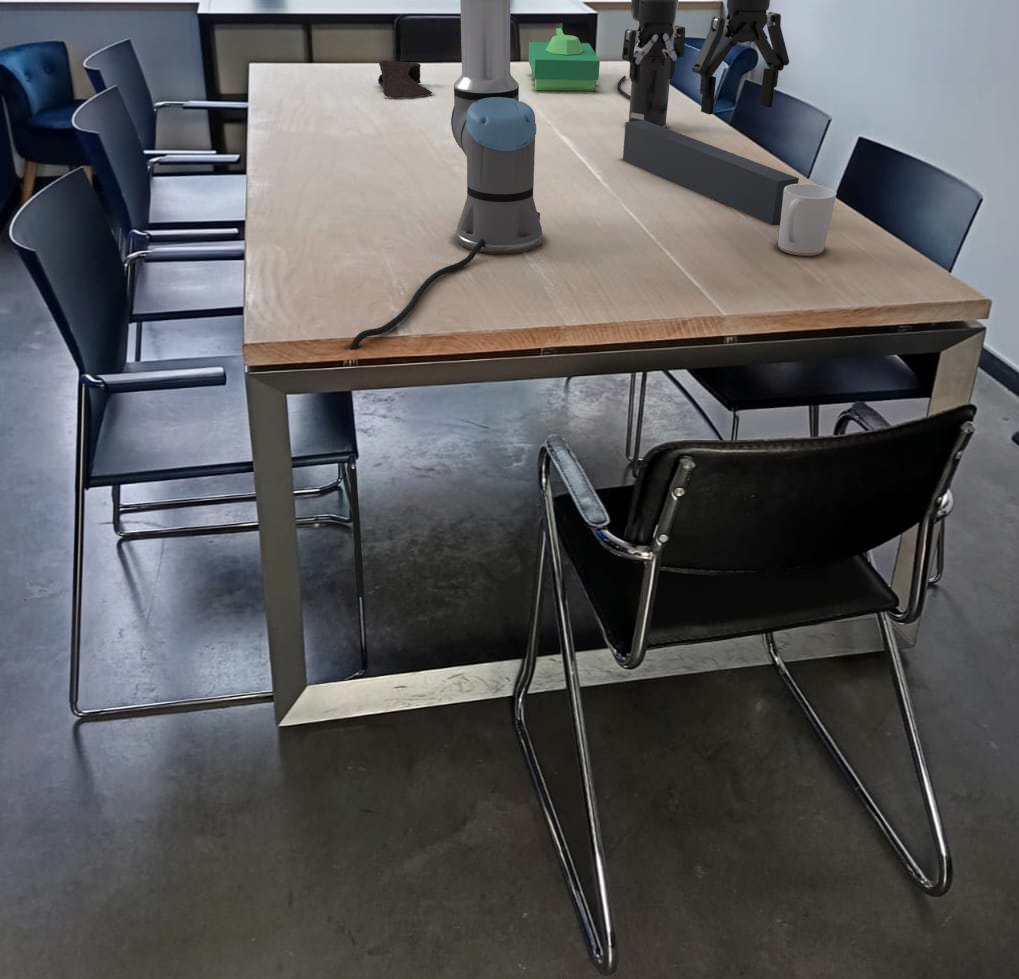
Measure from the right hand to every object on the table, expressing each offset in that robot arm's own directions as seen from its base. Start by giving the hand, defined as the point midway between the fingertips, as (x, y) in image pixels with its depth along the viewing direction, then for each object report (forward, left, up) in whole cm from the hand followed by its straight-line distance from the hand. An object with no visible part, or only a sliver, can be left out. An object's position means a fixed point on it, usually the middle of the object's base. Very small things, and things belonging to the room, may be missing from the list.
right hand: (651, 80), depth 232 cm
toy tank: (-86, -26, -18) cm, 92 cm away
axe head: (-62, -67, -18) cm, 93 cm away
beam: (+17, +12, -18) cm, 27 cm away
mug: (+53, +28, -18) cm, 62 cm away
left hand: (+29, +16, +1) cm, 33 cm away
